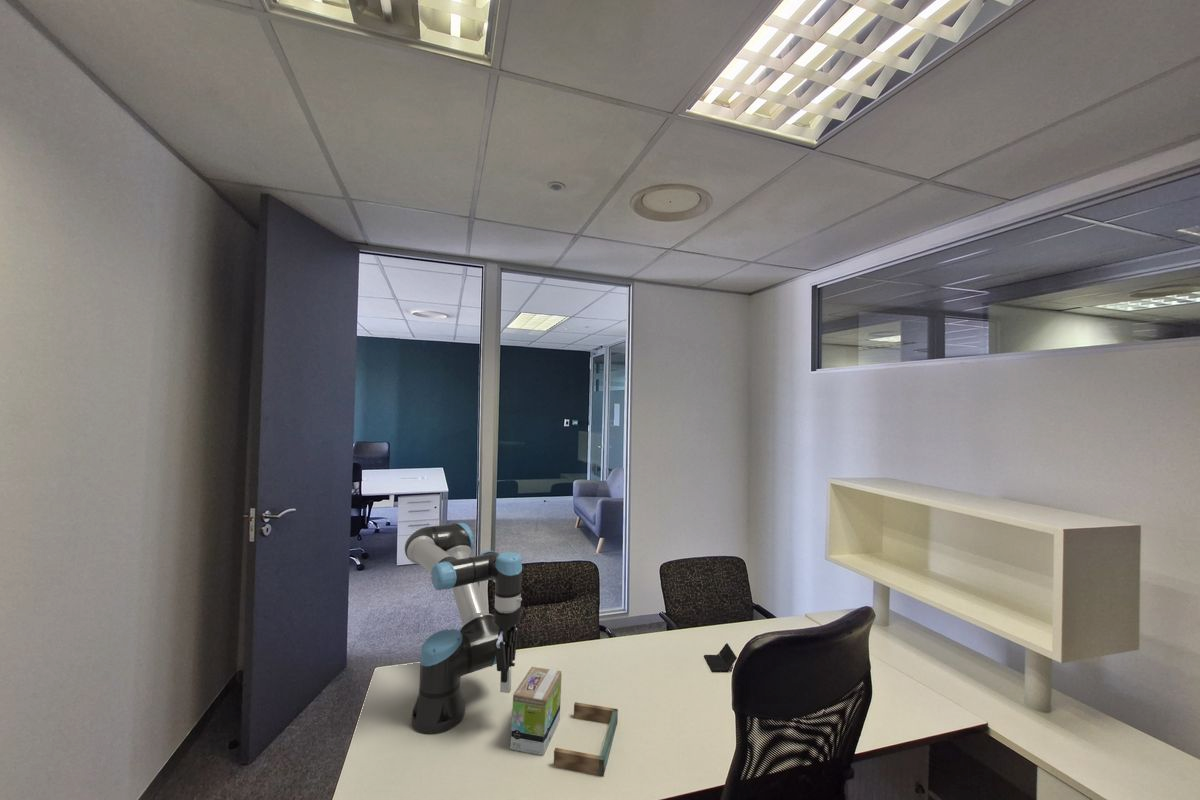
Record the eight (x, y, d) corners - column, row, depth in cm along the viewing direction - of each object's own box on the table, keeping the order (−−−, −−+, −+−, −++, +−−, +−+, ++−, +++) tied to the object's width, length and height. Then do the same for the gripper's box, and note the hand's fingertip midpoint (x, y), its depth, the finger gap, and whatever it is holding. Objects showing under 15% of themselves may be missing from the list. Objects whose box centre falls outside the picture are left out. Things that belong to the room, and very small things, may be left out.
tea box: (544, 756, 118) (546, 699, 119) (509, 750, 120) (511, 694, 121) (560, 719, 133) (562, 669, 133) (529, 714, 135) (530, 664, 135)
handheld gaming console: (698, 653, 170) (715, 632, 170) (711, 662, 171) (728, 642, 172) (711, 674, 159) (729, 652, 159) (725, 684, 160) (742, 662, 161)
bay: (553, 767, 114) (554, 750, 115) (574, 715, 135) (575, 702, 135) (603, 776, 112) (603, 760, 112) (617, 722, 132) (617, 709, 132)
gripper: (510, 618, 123) (508, 706, 122) (527, 600, 136) (526, 680, 134) (485, 616, 124) (483, 702, 123) (505, 598, 137) (503, 677, 136)
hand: (505, 691), depth 129 cm, fingers closed
